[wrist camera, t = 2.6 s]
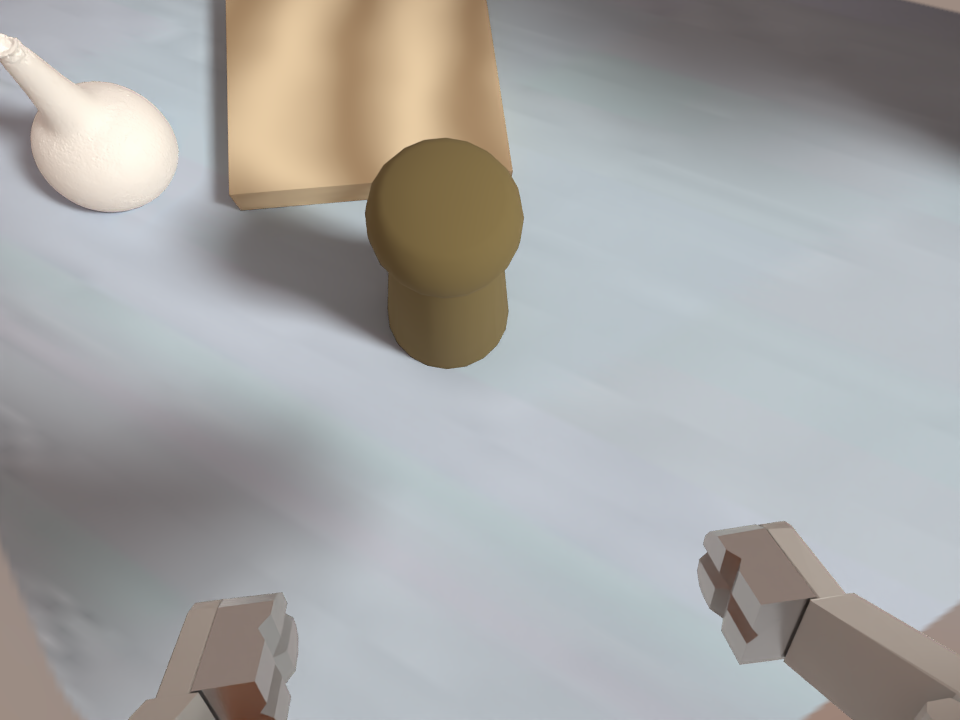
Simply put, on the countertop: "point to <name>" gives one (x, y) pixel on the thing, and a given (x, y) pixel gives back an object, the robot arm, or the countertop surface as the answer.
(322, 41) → the birch board
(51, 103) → the garlic bulb
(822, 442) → the countertop surface
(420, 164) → the cork
